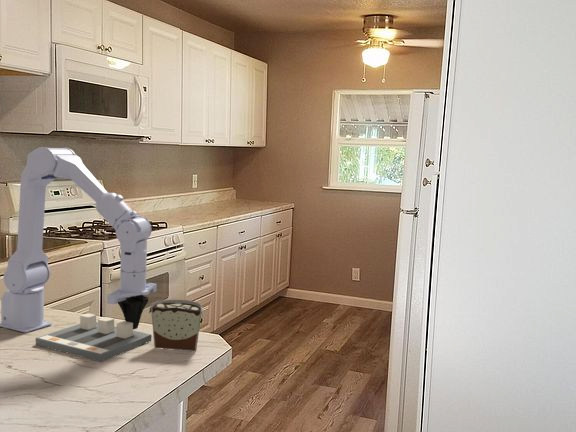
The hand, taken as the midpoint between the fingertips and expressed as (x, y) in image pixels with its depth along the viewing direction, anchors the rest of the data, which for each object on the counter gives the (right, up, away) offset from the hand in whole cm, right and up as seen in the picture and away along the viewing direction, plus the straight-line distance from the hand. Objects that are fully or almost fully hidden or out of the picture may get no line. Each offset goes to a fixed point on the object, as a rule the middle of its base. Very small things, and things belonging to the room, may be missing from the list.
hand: (132, 328), depth 136 cm
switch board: (-8, -3, -3) cm, 9 cm away
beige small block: (-11, 0, +3) cm, 11 cm away
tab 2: (-6, -1, 0) cm, 6 cm away
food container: (+11, -4, -2) cm, 12 cm away
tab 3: (-1, -1, -2) cm, 3 cm away
